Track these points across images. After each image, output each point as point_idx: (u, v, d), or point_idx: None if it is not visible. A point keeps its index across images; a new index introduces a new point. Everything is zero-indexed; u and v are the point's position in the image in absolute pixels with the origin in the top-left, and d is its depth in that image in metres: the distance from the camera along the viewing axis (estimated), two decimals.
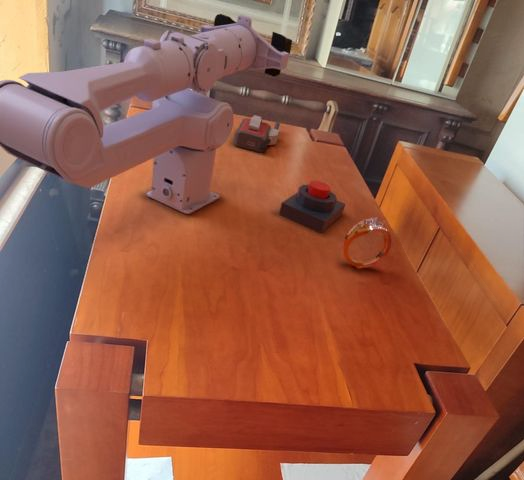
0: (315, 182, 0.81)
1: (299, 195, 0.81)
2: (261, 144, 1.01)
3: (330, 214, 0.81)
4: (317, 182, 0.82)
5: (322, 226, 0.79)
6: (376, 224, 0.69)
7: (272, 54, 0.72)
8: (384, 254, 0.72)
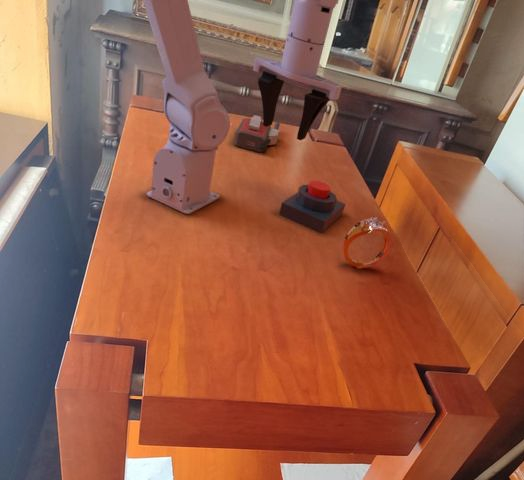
0: (315, 182, 0.81)
1: (299, 195, 0.81)
2: (261, 144, 1.01)
3: (330, 214, 0.81)
4: (317, 182, 0.82)
5: (322, 226, 0.79)
6: (376, 224, 0.69)
7: None
8: (384, 254, 0.72)
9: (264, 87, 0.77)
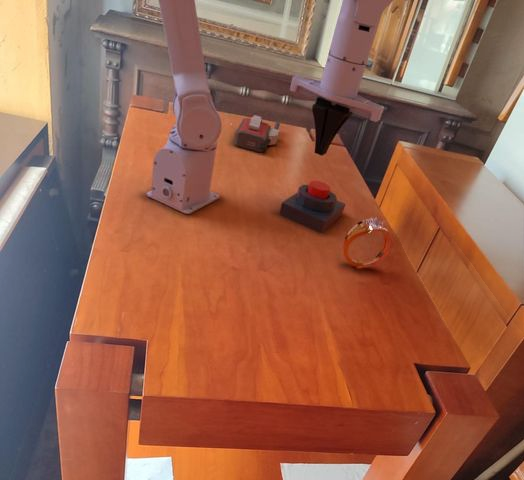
0: (315, 182, 0.81)
1: (299, 195, 0.81)
2: (261, 144, 1.01)
3: (330, 214, 0.81)
4: (317, 182, 0.82)
5: (322, 226, 0.79)
6: (376, 224, 0.69)
7: None
8: (384, 254, 0.72)
9: (319, 114, 0.73)
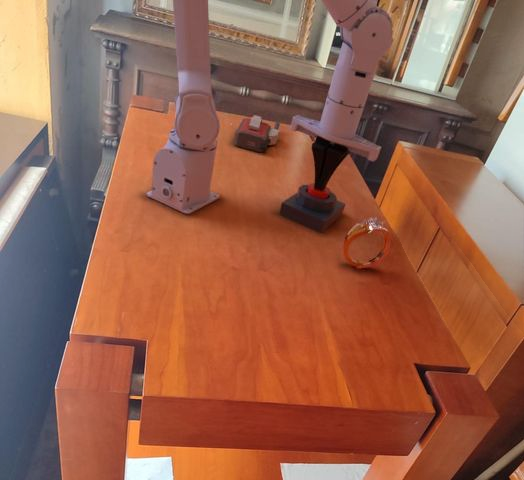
0: None
1: (299, 195, 0.81)
2: (261, 144, 1.01)
3: (330, 214, 0.81)
4: None
5: (322, 226, 0.79)
6: (376, 224, 0.69)
7: (367, 145, 0.75)
8: (384, 254, 0.72)
9: (318, 153, 0.76)
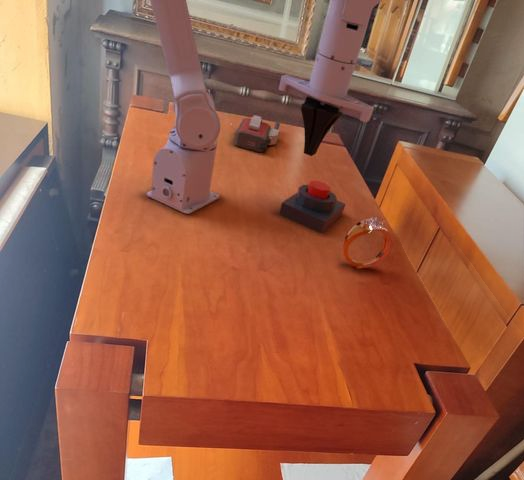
0: (315, 182, 0.81)
1: (299, 195, 0.81)
2: (261, 144, 1.01)
3: (330, 214, 0.81)
4: (317, 182, 0.82)
5: (322, 226, 0.79)
6: (376, 224, 0.69)
7: None
8: (384, 254, 0.72)
9: (308, 114, 0.72)
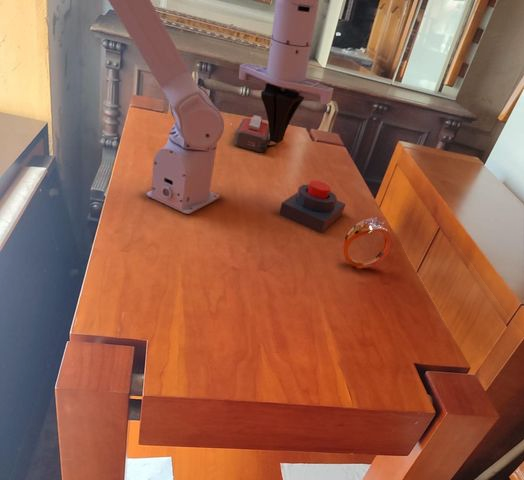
0: (315, 182, 0.81)
1: (299, 195, 0.81)
2: (261, 144, 1.01)
3: (330, 214, 0.81)
4: (317, 182, 0.82)
5: (322, 226, 0.79)
6: (376, 224, 0.69)
7: None
8: (384, 254, 0.72)
9: (268, 101, 0.72)
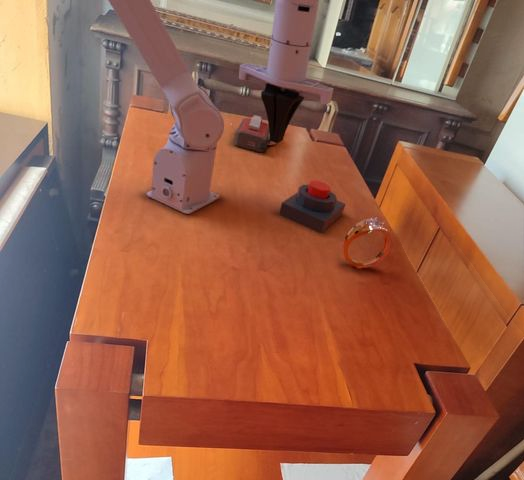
0: (315, 182, 0.81)
1: (299, 195, 0.81)
2: (261, 144, 1.01)
3: (330, 214, 0.81)
4: (317, 182, 0.82)
5: (322, 226, 0.79)
6: (376, 224, 0.69)
7: None
8: (384, 254, 0.72)
9: (268, 101, 0.72)
